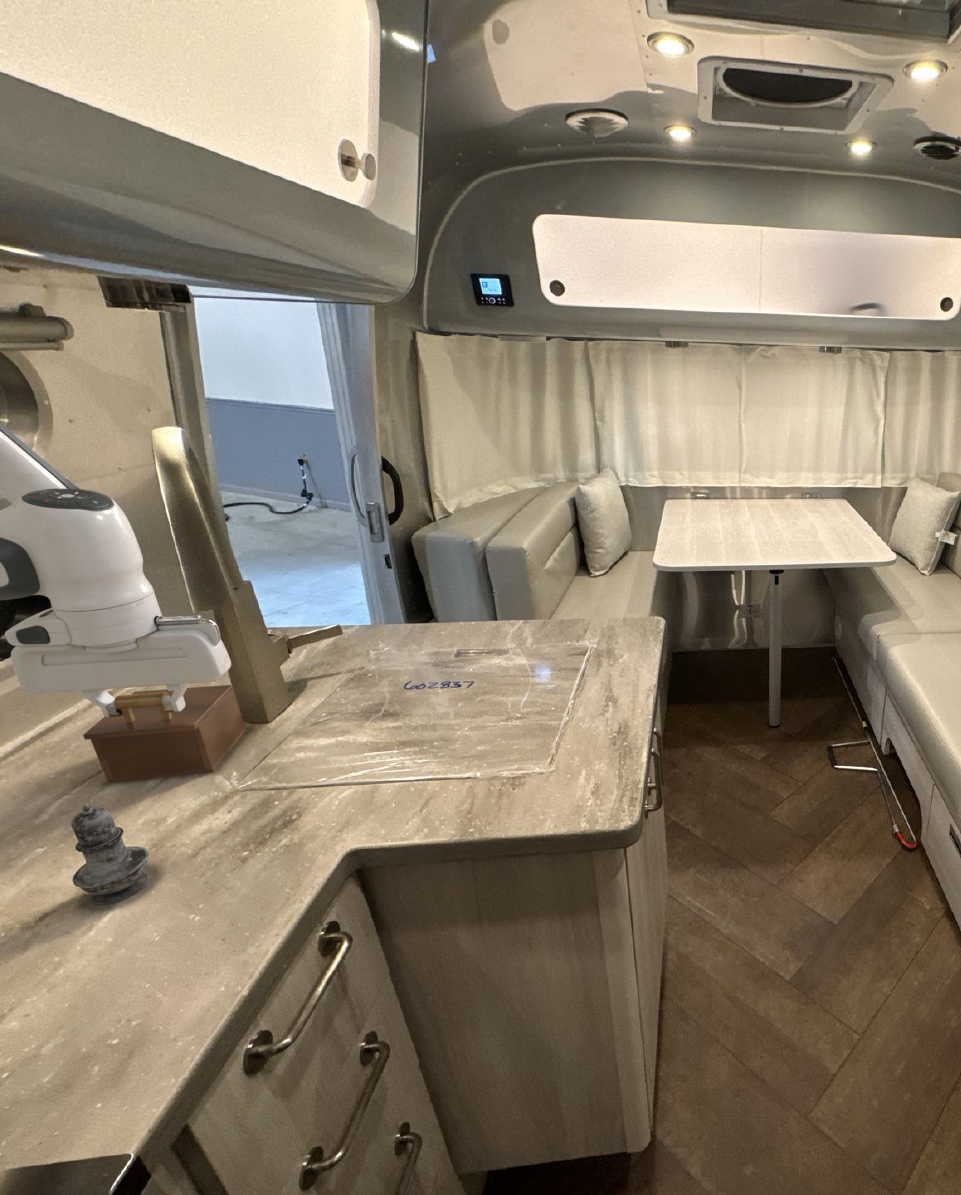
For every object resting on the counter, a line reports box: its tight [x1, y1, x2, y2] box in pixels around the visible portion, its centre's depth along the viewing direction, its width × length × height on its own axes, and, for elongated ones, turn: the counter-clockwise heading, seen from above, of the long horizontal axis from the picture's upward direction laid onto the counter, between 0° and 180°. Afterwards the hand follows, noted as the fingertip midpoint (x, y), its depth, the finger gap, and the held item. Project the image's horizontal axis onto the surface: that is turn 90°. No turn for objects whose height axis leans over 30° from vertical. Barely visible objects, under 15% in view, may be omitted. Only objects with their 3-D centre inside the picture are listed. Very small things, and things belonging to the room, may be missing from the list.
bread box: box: [90, 689, 247, 784], centre depth 91 cm, size 10×12×8 cm
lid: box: [82, 684, 234, 741], centre depth 88 cm, size 11×12×5 cm
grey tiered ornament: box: [70, 804, 151, 906], centre depth 69 cm, size 6×6×12 cm
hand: (146, 712), depth 85 cm, fingers closed on lid, 5 cm apart
